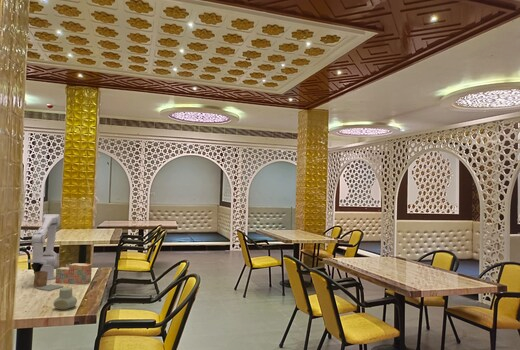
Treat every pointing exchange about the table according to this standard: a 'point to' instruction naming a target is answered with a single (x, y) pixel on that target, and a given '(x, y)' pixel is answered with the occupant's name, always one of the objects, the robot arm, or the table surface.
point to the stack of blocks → (74, 274)
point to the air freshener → (65, 299)
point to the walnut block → (40, 279)
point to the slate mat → (49, 287)
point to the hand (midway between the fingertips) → (36, 274)
